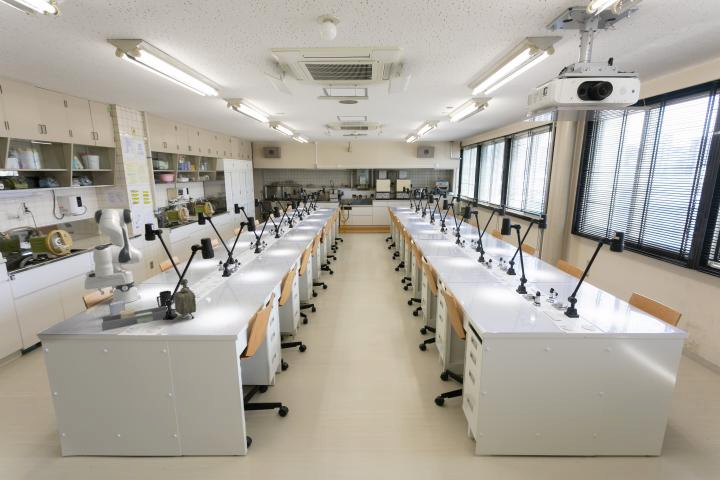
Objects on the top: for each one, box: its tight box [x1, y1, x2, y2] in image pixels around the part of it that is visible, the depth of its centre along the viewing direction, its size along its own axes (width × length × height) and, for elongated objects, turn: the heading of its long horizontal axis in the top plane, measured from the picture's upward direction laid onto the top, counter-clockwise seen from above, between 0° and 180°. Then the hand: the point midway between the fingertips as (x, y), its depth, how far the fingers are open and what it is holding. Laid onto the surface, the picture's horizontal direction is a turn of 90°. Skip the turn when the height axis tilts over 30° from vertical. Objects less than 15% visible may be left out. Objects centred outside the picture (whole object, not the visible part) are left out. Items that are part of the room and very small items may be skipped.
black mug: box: [156, 290, 172, 307], centre depth 235 cm, size 10×7×12 cm
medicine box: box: [108, 301, 127, 316], centre depth 224 cm, size 8×4×9 cm, turn 141°
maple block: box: [121, 308, 135, 319], centre depth 211 cm, size 5×7×4 cm
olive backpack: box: [173, 280, 197, 319], centre depth 219 cm, size 14×9×25 cm, turn 44°
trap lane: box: [101, 306, 167, 331], centre depth 214 cm, size 10×35×5 cm, turn 126°
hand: (107, 293), depth 204 cm, fingers open, 3 cm apart
